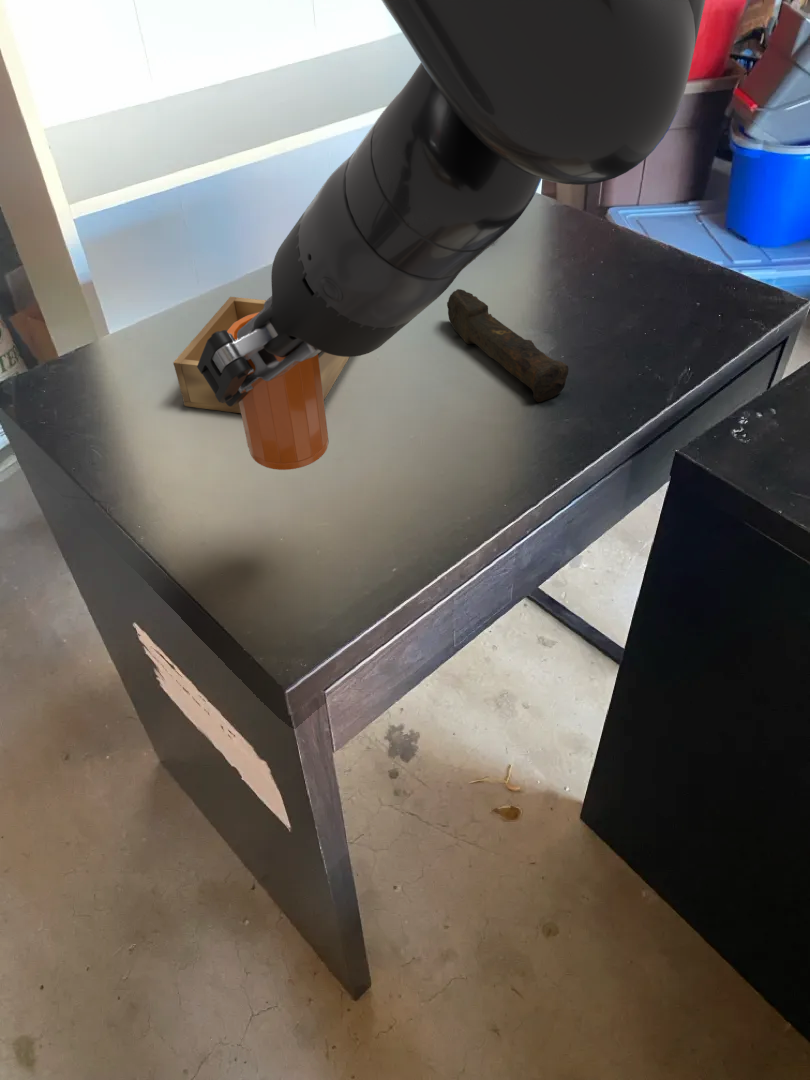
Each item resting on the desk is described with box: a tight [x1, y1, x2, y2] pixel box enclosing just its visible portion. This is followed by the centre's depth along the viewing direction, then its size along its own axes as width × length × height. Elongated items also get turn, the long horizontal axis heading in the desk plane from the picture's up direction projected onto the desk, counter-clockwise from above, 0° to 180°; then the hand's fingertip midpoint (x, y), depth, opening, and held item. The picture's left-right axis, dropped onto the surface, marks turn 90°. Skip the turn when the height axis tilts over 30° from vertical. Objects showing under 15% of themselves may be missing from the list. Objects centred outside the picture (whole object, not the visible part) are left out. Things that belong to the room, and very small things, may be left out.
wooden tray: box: [172, 296, 350, 414], centre depth 85 cm, size 14×14×5 cm
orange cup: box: [227, 312, 329, 471], centre depth 55 cm, size 6×6×9 cm
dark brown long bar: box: [446, 288, 569, 403], centre depth 86 cm, size 19×4×5 cm, turn 28°
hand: (262, 372), depth 56 cm, fingers closed on orange cup, 5 cm apart
